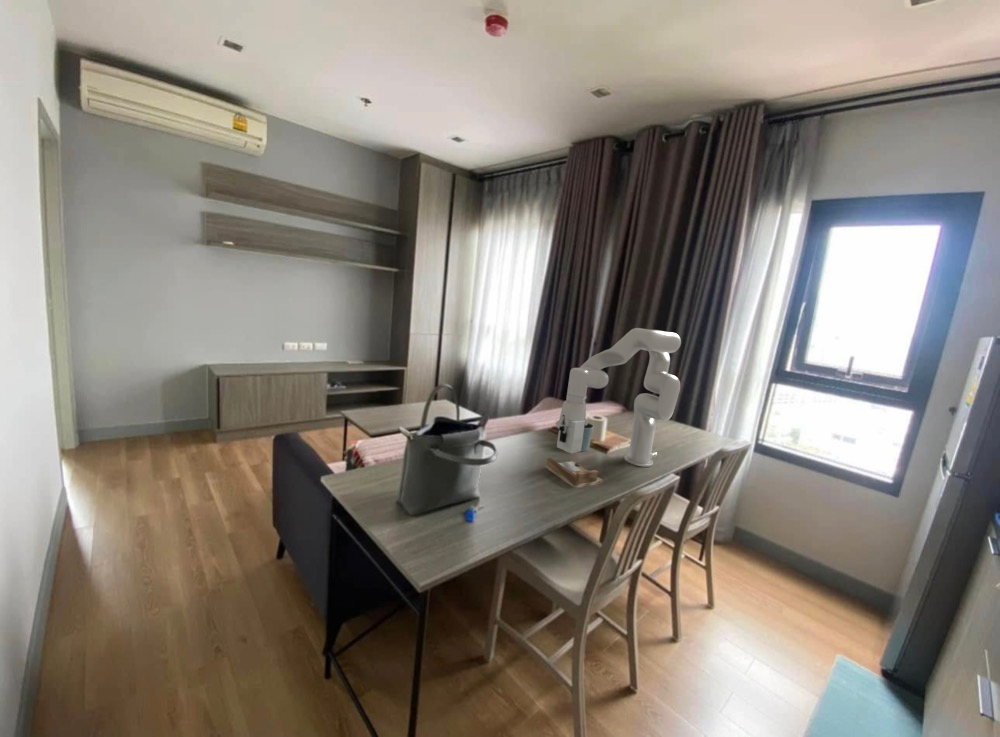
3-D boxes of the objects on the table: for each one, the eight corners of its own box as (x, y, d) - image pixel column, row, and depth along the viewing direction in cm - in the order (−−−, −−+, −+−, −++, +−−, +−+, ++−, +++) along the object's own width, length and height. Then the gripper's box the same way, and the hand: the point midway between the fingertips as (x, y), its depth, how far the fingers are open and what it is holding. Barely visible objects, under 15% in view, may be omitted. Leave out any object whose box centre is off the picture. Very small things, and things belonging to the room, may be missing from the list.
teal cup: (578, 443, 205) (581, 420, 203) (594, 450, 197) (598, 426, 195) (564, 446, 198) (568, 422, 196) (581, 453, 191) (584, 429, 189)
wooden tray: (572, 463, 178) (574, 452, 177) (602, 483, 161) (604, 470, 161) (545, 467, 171) (547, 455, 170) (574, 488, 155) (576, 475, 154)
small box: (581, 451, 168) (585, 420, 166) (570, 453, 164) (575, 422, 162) (566, 444, 174) (570, 415, 172) (556, 447, 170) (560, 416, 168)
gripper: (586, 396, 173) (580, 436, 176) (552, 396, 165) (547, 439, 168) (598, 400, 167) (592, 442, 170) (564, 401, 158) (558, 445, 161)
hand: (569, 440), depth 169 cm, fingers closed on small box, 7 cm apart
